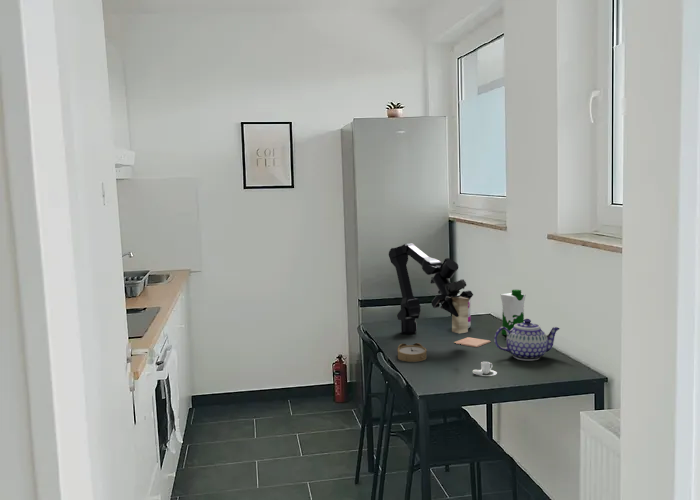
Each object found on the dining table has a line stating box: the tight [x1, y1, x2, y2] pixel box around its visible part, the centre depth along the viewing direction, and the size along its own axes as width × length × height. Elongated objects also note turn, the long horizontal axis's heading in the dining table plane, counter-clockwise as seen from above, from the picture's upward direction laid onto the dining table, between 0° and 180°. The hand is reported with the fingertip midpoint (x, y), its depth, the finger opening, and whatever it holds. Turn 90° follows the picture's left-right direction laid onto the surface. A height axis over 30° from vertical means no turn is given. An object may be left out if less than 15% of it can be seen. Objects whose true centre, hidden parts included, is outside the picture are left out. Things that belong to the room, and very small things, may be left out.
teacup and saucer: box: [472, 361, 498, 377], centre depth 235 cm, size 9×8×4 cm
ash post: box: [451, 297, 469, 335], centre depth 271 cm, size 5×5×14 cm
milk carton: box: [500, 289, 526, 336], centre depth 291 cm, size 9×9×20 cm
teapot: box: [493, 318, 561, 361], centre depth 254 cm, size 25×15×15 cm, turn 88°
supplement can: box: [457, 293, 472, 329], centre depth 308 cm, size 8×8×15 cm
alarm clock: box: [397, 342, 427, 363], centre depth 259 cm, size 11×5×15 cm
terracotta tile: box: [453, 336, 491, 348], centre depth 279 cm, size 11×11×1 cm
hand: (462, 315), depth 270 cm, fingers closed on ash post, 4 cm apart
